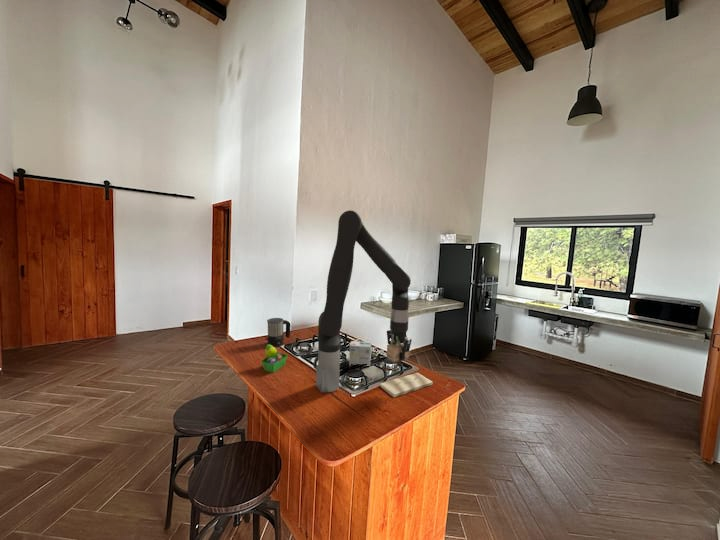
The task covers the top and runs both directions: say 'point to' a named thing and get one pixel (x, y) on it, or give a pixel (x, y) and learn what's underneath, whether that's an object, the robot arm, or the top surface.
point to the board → (405, 384)
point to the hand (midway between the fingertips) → (397, 357)
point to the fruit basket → (273, 359)
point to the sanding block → (395, 352)
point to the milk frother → (277, 331)
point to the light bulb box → (360, 353)
